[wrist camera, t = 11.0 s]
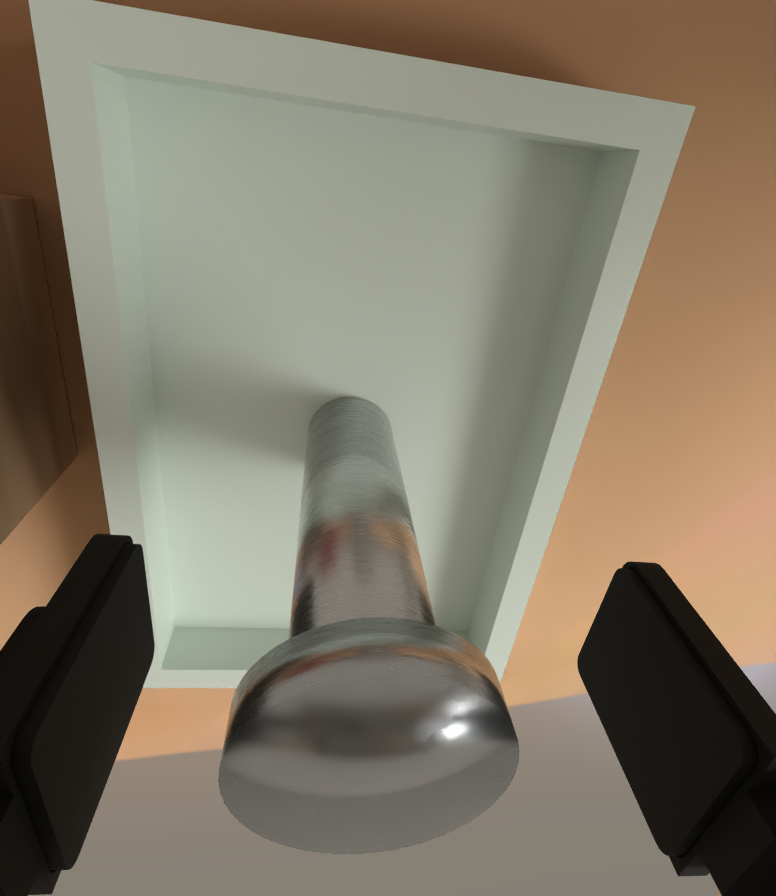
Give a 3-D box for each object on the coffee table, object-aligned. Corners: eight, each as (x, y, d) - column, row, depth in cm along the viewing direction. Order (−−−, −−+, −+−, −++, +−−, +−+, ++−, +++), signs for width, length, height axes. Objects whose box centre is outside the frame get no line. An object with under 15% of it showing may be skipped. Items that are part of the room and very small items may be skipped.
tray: (90, 24, 12) (26, -12, 10) (630, 116, 14) (695, 106, 12) (157, 624, 22) (134, 687, 19) (480, 630, 24) (498, 687, 21)
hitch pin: (425, 379, 17) (554, 677, 7) (405, 494, 19) (484, 848, 9) (284, 366, 16) (213, 675, 6) (280, 487, 18) (221, 860, 8)
